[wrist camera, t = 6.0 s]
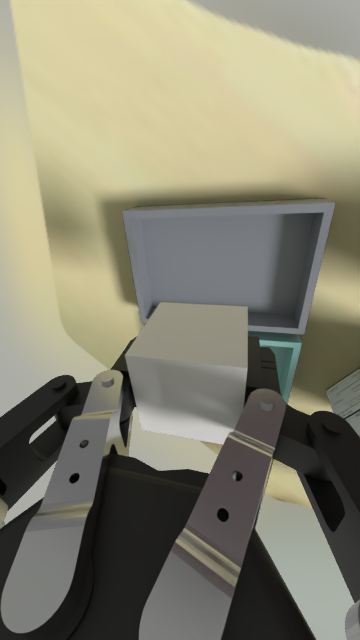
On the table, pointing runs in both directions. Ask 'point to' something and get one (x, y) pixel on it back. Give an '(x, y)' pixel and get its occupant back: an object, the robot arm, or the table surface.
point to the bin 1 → (231, 257)
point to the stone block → (191, 370)
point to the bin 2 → (282, 356)
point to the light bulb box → (347, 399)
